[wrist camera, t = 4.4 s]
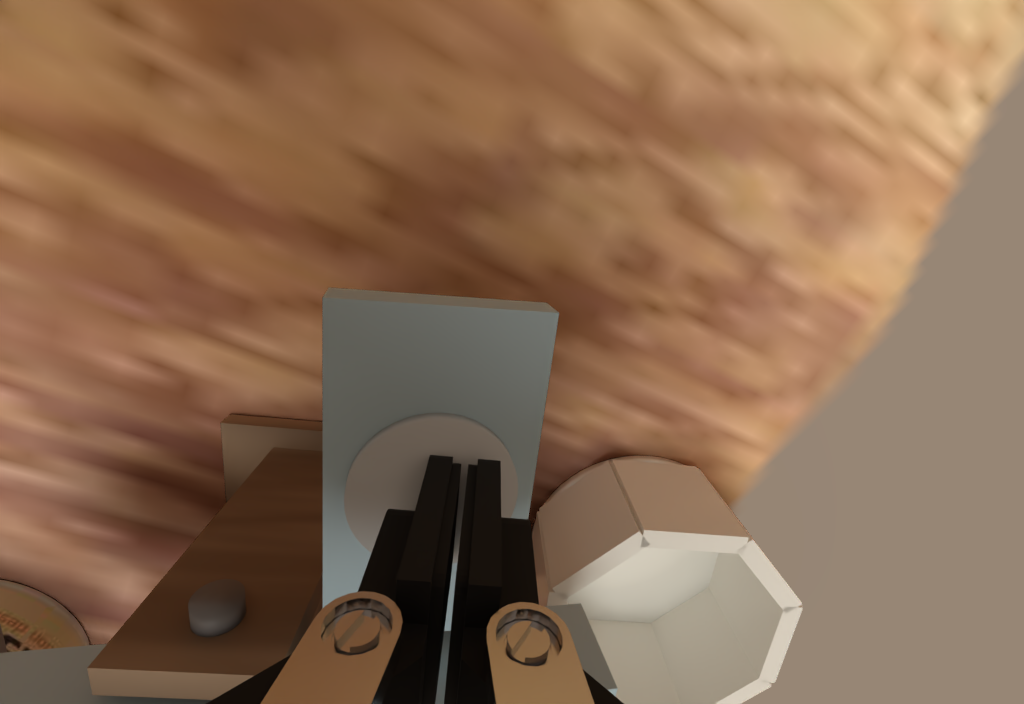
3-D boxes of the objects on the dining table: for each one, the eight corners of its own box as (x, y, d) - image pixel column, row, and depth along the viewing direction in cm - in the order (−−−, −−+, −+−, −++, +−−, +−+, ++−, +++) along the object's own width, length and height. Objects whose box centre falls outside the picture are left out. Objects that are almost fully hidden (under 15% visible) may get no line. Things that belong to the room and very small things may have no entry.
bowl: (544, 446, 21) (560, 523, 16) (751, 464, 22) (827, 543, 17) (518, 616, 24) (525, 725, 19) (702, 627, 25) (755, 735, 20)
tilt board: (-365, 215, 10) (-1171, 253, 5) (606, 290, 15) (714, 348, 10) (-140, 762, 14) (-424, 1072, 9) (537, 679, 19) (585, 853, 14)
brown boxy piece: (230, 414, 20) (-21, 630, 10) (426, 430, 21) (368, 650, 11) (242, 606, 23) (57, 917, 13) (413, 615, 24) (359, 920, 14)
